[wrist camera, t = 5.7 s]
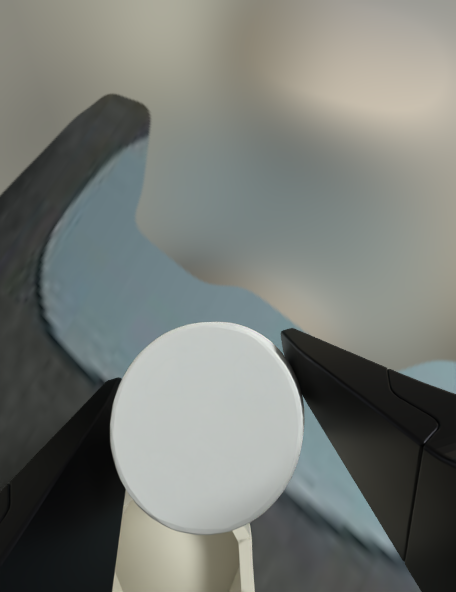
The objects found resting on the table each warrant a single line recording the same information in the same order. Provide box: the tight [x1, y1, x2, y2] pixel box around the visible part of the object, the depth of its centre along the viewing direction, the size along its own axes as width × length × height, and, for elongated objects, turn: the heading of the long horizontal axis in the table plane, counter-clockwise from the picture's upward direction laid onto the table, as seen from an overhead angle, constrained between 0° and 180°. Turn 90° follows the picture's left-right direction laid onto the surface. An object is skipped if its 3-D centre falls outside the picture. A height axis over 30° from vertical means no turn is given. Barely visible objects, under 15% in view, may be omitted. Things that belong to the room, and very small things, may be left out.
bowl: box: [112, 490, 255, 592], centre depth 16 cm, size 10×10×4 cm
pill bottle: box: [110, 322, 304, 535], centre depth 10 cm, size 5×5×10 cm
